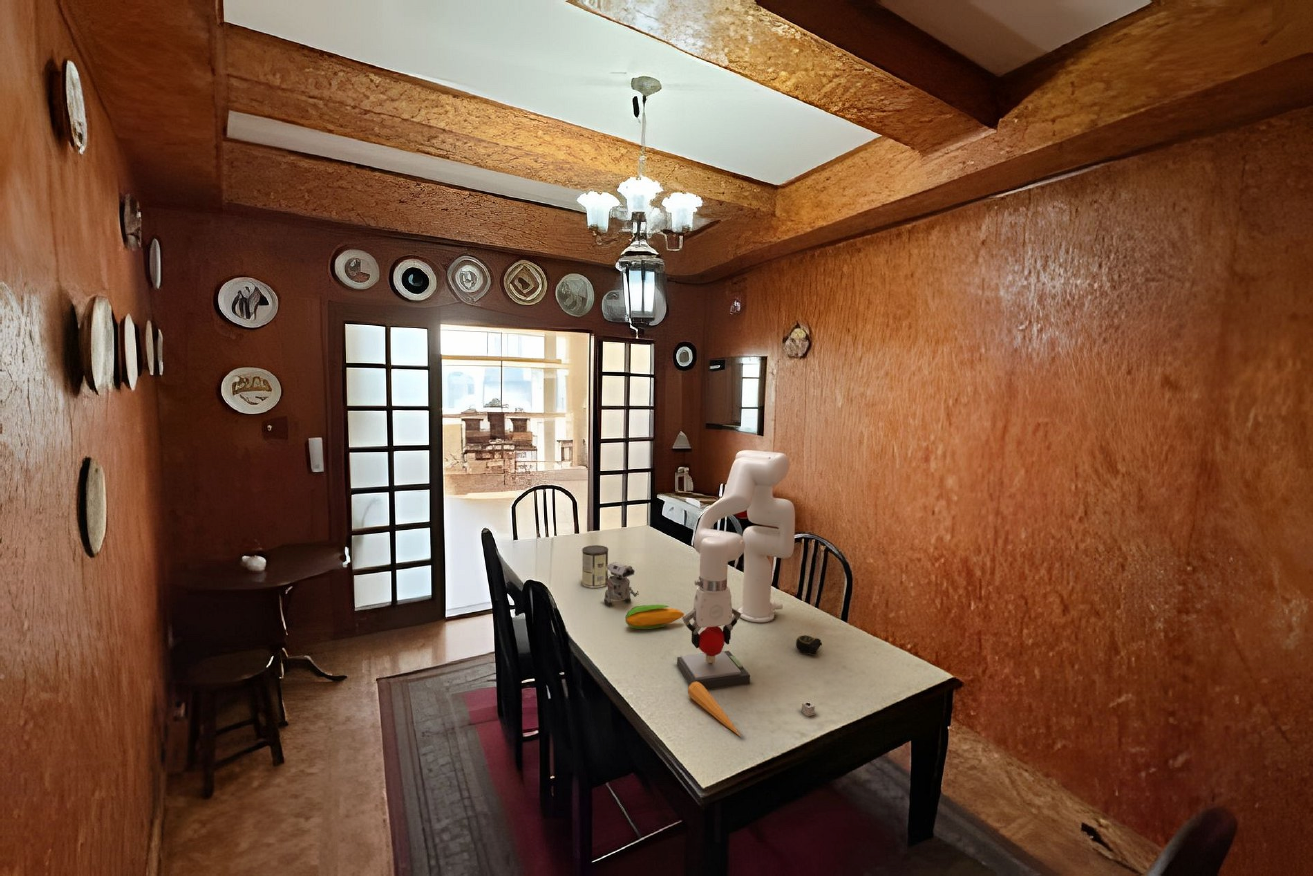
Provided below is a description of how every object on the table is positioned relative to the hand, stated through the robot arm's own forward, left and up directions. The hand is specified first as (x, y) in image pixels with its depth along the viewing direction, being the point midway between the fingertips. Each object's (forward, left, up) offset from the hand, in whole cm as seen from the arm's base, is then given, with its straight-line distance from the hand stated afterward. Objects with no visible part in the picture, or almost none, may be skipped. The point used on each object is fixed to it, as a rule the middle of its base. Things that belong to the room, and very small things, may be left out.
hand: (710, 644), depth 153 cm
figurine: (+13, -53, -9) cm, 55 cm away
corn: (+6, -33, -9) cm, 35 cm away
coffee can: (+18, -76, -9) cm, 79 cm away
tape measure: (-35, -5, -9) cm, 36 cm away
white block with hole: (-17, +23, -9) cm, 30 cm away
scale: (-1, 0, -9) cm, 9 cm away
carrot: (+6, +18, -9) cm, 21 cm away
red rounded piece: (0, 0, -6) cm, 6 cm away
